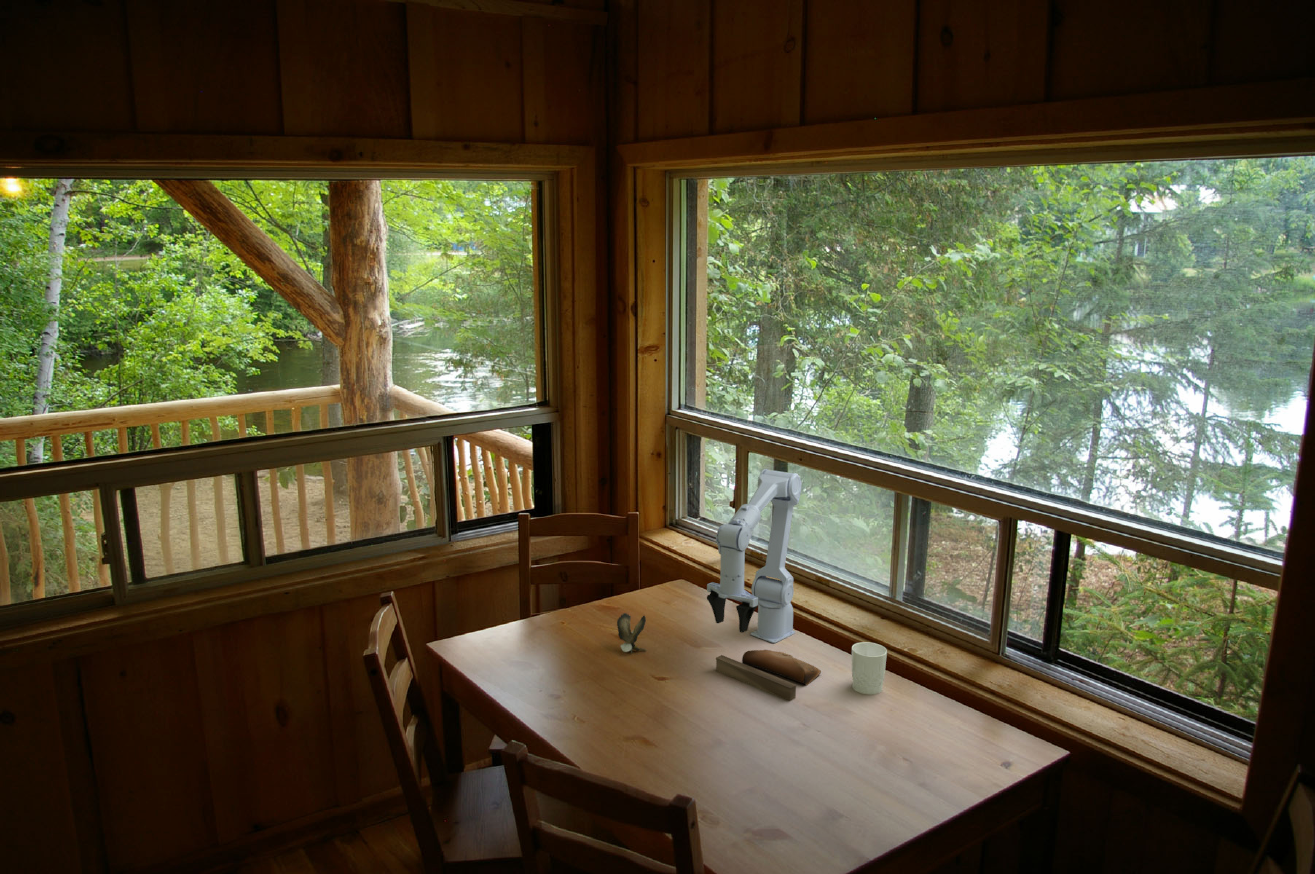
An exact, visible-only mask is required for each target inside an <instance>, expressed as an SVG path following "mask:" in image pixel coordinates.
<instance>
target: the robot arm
mask: <svg viewBox="0 0 1315 874" xmlns="http://www.w3.org/2000/svg"><path fill="white" fill-rule="evenodd" d="M802 485H803V484H802V479H801V477H800V476H799V474H798V473H797V472H786V471H779V470H773V469H769V468H764V469H763V470H761V472H760V473H759V475H758V478H757V488H756V490H755V491H754V494H753V496H752V497H751V499H750V500H749V502H748V503H744V504H741V506H739V508H738V510H737V511H736V512H735V514H734V515H733V517H732V518H731V519H730V520H729V521H728V523H727V522H725V523H723V524H721V525H720V526H719V527H718V529H717V533H716V537H715V544H716V545H717V548H718V551H717V553H718V554H719V555H720V568H719V569H720V575H719V576H720V577H719V578H720V579H719V580H720V581H719V583H716V582H713V581H712V582H710V583H707V584H706V592H707V593H709V594H707V595H706V599H707V601H708V603H709V605H710V607H711V609H712V612H713V616H714V620H715V623H716V624H720V623H723V622H724V620H725V607H726V602H727V599H730V600H734V601H738V602H740V603H741V604H738V605H735V608H736V611H737V615H738V622H739V623H738V631H739V633H741V634H742V633H745V632H747V631H748V630H749V626H750V622H751V619H752V616H753V614H755V613H754V612H755V610H756V609H757V630H754V631H752V632H750V636H753V637H755V638H758V639H760V640H764V641H766V642H769V643H772V644H775V643H778V642H780V641H782V640H784V639H786V638H788V637H791V636H792V635H795V634H796V631H795V630H793V629H794V626H793V625H794V608H793V605H792V603H791V602H792V601H793V597H794V592H795V591H794V577H793V576H792V575H793V574H791V573H790V572H789V571H788V569H786V567H785V566H786V560H787V554H788V553H787V552H788V548H789V547H788V546H789V540H790V533H791V526H792V519H793V513H794V507H795V506H797V505H798V504H799V502H800V498H801V491H802ZM770 502H771V503H772V505H773V513H772V519H771V527H770V531H769V532H770V533H769V538H768V539H769V540H768V547H767V554H766V558H765V559H766V560H765V565H764V566H763V567H761V568H759V569H757V570H756V572H755V575H754V578H753V582H752V584H751V593H750V592H748V591H747V590H746V589H745V557H746V555H745V552H746V549H747V548H748V546H749V544H750V540H751V537H752V535H753V534H752V532H753V531H754V529H755V528H756V527H757V525H758V523H759V522H760V521H761V519H762V517H761V516H762V515H761V512H762V511H763V510H764V509H765V508H766V507H767V505H768V504H769V503H770Z"/></svg>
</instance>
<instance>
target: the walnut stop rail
mask: <svg viewBox="0 0 1315 874" xmlns="http://www.w3.org/2000/svg"><path fill="white" fill-rule="evenodd" d="M715 660H716V662H715V665H716V668H715V669H716V671H717V672H719V673H721V674H723V675H726V676H728V677H731V678H733V679H736V680H738V681H740V682H743V683H745V684H747V685H750V686H753V687H755V688H757V689H760V690H762V691H765V692H767V693H769V694H772V695H774V696H776V697H778V698H779V697H780V698H782V699H784V700H786V701H789V702H791V701H793V700H795V699H796V696H797V695H796V694H797V691H796V690H797V684H795V683H792V682H790V681H788V680H785V679H782V678H780V677H777V676H776V675H773V674H771V673H768V672H765V671H763V670H760V669H759V668H756V667H754V666H749V665H746V664H743V663H742V661H741V662H740V661H737V660H736V659H733V658H731V657H727V656H725V655H722V654H721V655H719V656H716V657H715Z"/></svg>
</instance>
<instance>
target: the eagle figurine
mask: <svg viewBox="0 0 1315 874" xmlns="http://www.w3.org/2000/svg"><path fill="white" fill-rule="evenodd" d="M631 618H632V617H631V615H630V614H628V613H627V612H624V613H622V614H621V615H620V616H619V618H617V621H616V626H617V630H618V631H617V633H618V634H617V635H618V638H619V639H620V640H622V641H623V642H624V643H622V644H620V649H621V651H622V652H623V653H628V652H630V654H631V655H632V654H633V650H634V651H637V652H640V651H644V652H647V651H648V650H647V649H646V648H641V647H638V646H636V644H635V643H636V642H637V641H638V637H639V635H640V634H641V633H642V631H643V630H644V628H645V625H646V623H647V619H646V615H643V616H642V617H641V618H640V620H639V621H638V623H636V625H635V627H634V629H633V630H632V629H631Z"/></svg>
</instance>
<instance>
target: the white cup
mask: <svg viewBox="0 0 1315 874" xmlns="http://www.w3.org/2000/svg"><path fill="white" fill-rule="evenodd" d="M887 655H888V650H887V648H886V647H885V646H883V645H881V644H878V643H876V642H869V641H868V642H867V641H866V642H865V641H863V642H856V643H854V644H852V646H851V678H852V689H853V690H854V691H855V692H858V693H860V694H863V695H877V694H880V693H881V692H882V691H883V685H884V684H883V683H884V680H885V675H886V674H885V673H886V666H887V665H886V664H887V663H886V662H887Z"/></svg>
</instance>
